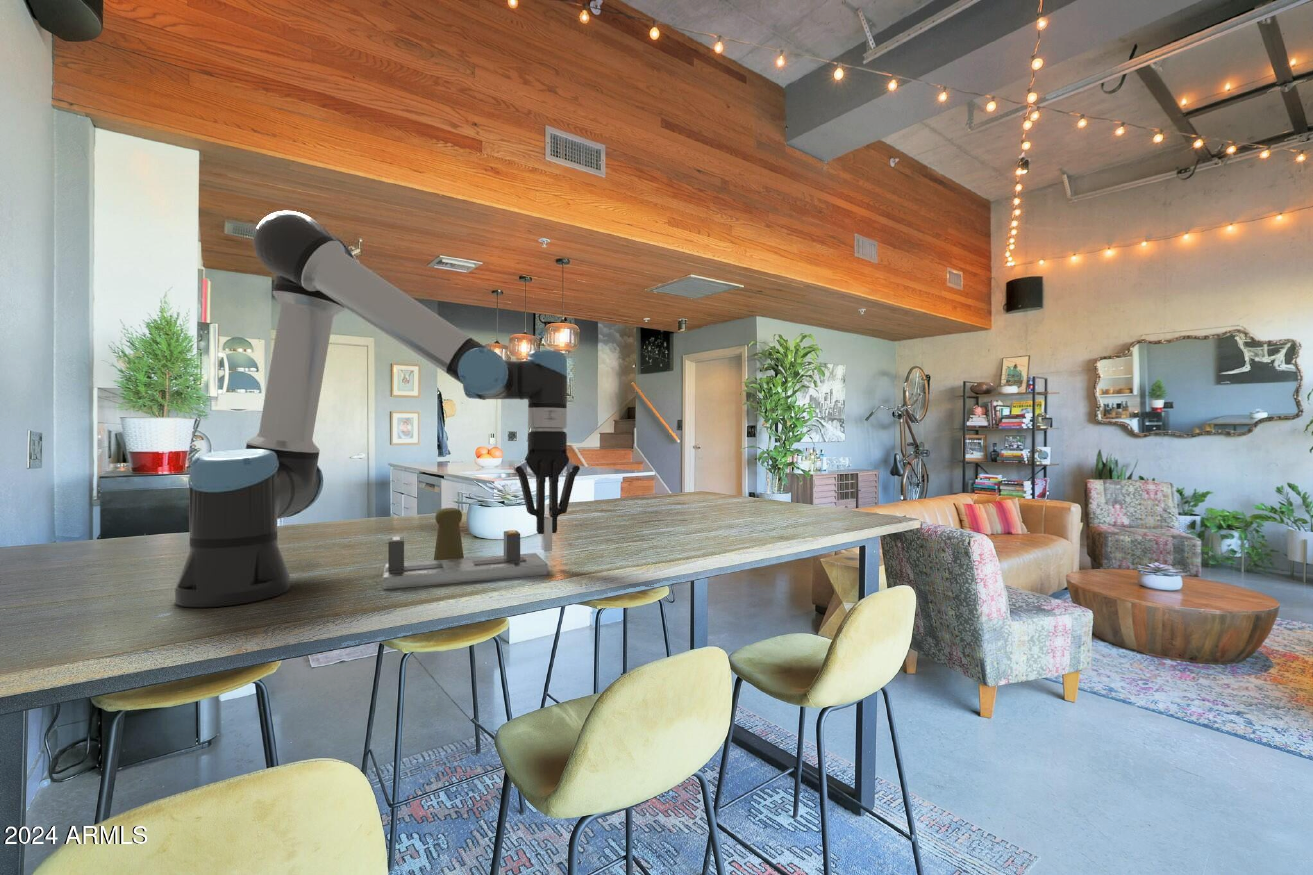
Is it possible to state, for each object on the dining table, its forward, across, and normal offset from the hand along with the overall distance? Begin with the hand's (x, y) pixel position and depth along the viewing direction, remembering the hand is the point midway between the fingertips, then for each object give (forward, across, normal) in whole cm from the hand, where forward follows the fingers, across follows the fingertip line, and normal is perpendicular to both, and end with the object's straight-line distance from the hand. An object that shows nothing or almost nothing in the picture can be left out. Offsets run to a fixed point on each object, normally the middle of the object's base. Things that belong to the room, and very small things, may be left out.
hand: (546, 550), depth 116 cm
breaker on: (+1, -27, 0) cm, 27 cm away
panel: (+4, -15, 0) cm, 15 cm away
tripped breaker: (+1, -7, 0) cm, 7 cm away
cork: (+4, -17, +13) cm, 22 cm away
